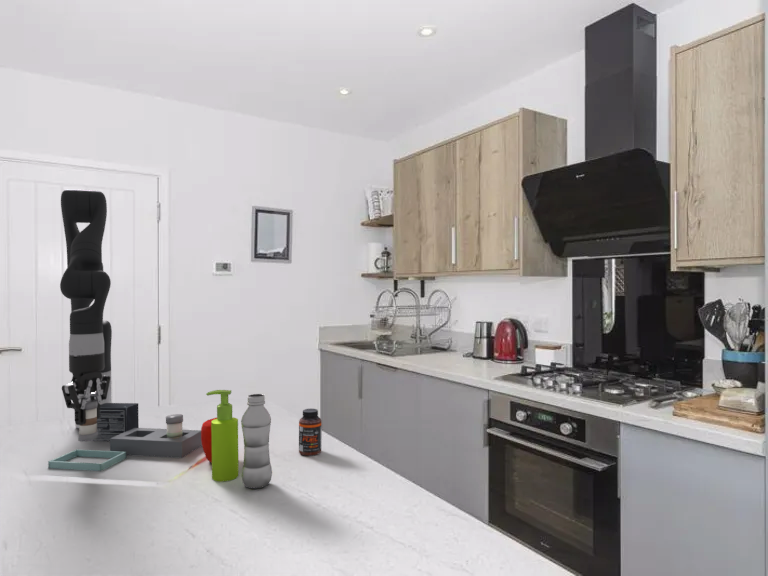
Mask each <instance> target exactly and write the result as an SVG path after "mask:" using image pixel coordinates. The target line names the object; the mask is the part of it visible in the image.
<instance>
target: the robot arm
mask: <svg viewBox="0 0 768 576" xmlns="http://www.w3.org/2000/svg"><path fill="white" fill-rule="evenodd" d="M60 195H61V196H60V209H61V216H62V222H63V223H62V224H63V231H64V237H65V245H66V263H67V264H66V265H67V268H66V269H65V271H64V272H63V274H62V277H61V280H60V284H59V287H60V292H61V294H62V295H63V296H64V297H65V298H67V299H69V300H70V308H71V309H70V314H69V340H68V371H69V372H70V373H71V374H72V377H71V381H70V383H68V384H62V386H61V391H62V395H63V398H64V401H65V405H66V408H67V409H73V411H74V426H75V429H76V428H77V429H79V425H83V424H85V423H86V409H84V408H85V405H86V401H88V400H97V401H98V408H97V419H99V418H100V405H101V404H104V403H113V402H112V398H113V396H112V336H113V335H112V334H113V332H112V331H113V330H112V325H111V322H110V321H109V320H104V309H105V306H106V301H107V298H108V295H109V292H110V288H111V283H112V282H111V281H112V280H111V278H110V276H109V274H108V272H106V271H104V265H103V257H102V255H103V254H102V249H103V248H102V247H103V240H104V239H103V237H104V234H105V229H106V222H107V214H108V209H107V208H108V207H107V206H108V205H107V199H106V196H105V193H104V192H102V191H99V190H93V189H92V190H90V189H63V191H62V192H61V194H60ZM79 223H81V224H83V223H84V224H88V225H87V226H86V227H85V228H83V229H82V230H81V231H80V229H79V228H78V227H79V226H78V225H77V224H79ZM93 301H94V302H93ZM79 402H81V403H80V404H79Z"/></svg>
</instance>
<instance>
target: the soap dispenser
mask: <svg viewBox="0 0 768 576" xmlns="http://www.w3.org/2000/svg"><path fill="white" fill-rule="evenodd" d="M231 394H232V390H231V389H230V390H229V389H215V390H211V391H208V392H207V393H206V394H205V395H206V396H212V395H220V403H219V404H218V405H217V406H216V418H217V419H214V420H212V422H211V432H212V463H211V479H212V480H213V481H215V482H218V483H219V482H222V483H224V482H229V481H230V482H231V481H233V480H235V479H237V478H238V477H239V473H240V472H239V419H238V418H237V417H234V416H233V404H232V403H229V396H230V395H231Z"/></svg>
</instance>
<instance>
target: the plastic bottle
mask: <svg viewBox="0 0 768 576" xmlns="http://www.w3.org/2000/svg"><path fill="white" fill-rule="evenodd" d="M265 399H266V397H265V394H264V393H254V394H253V393H252V394H248V395H247V403H246V404H247V405H246V406H248V407H247V408H246V410H245V411H244V412H243V415H242V417H241V420H240V423H241V430H242V436H243V449H244V451H243V465H242V470H241V479H242V480H241V481H242V483H243V485H244V486H245V487H246V488H249V489H260V488H264V487H266V486H268V485H269V484H270V482H271V480H272V476H273V469H272V464H271V459H270V457H271V456H270V447H269V446H270V444H269V443H270V431H271V423H272V417H271V414H270V412H269V411H268V410H267V408H266V407H265V404H266V400H265Z"/></svg>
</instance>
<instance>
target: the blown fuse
mask: <svg viewBox="0 0 768 576" xmlns="http://www.w3.org/2000/svg"><path fill="white" fill-rule="evenodd" d="M80 403H81V402H79V404H80ZM97 408H98V401H97V400H88V401H86V405H85V408H84V409H86V423H85V424H83V425H79V428H78V434H77V439H78V442H91V441H92V440H95V439H97V438H98V431H97Z"/></svg>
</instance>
